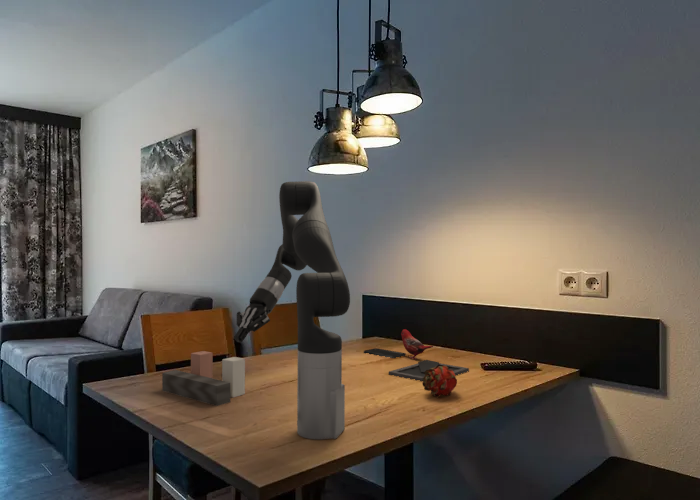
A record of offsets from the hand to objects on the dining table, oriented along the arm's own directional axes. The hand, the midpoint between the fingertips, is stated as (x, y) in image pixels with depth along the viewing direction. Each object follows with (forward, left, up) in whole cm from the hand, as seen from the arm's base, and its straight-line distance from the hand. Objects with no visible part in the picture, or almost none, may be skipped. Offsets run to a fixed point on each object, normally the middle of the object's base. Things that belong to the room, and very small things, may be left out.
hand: (237, 340), depth 148 cm
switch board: (-1, +16, -12) cm, 20 cm away
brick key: (+5, +11, -11) cm, 16 cm away
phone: (-32, -53, -13) cm, 63 cm away
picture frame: (-52, -28, -13) cm, 60 cm away
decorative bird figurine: (-45, -46, -12) cm, 65 cm away
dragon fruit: (-58, -4, -12) cm, 59 cm away
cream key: (-8, +16, -11) cm, 21 cm away
